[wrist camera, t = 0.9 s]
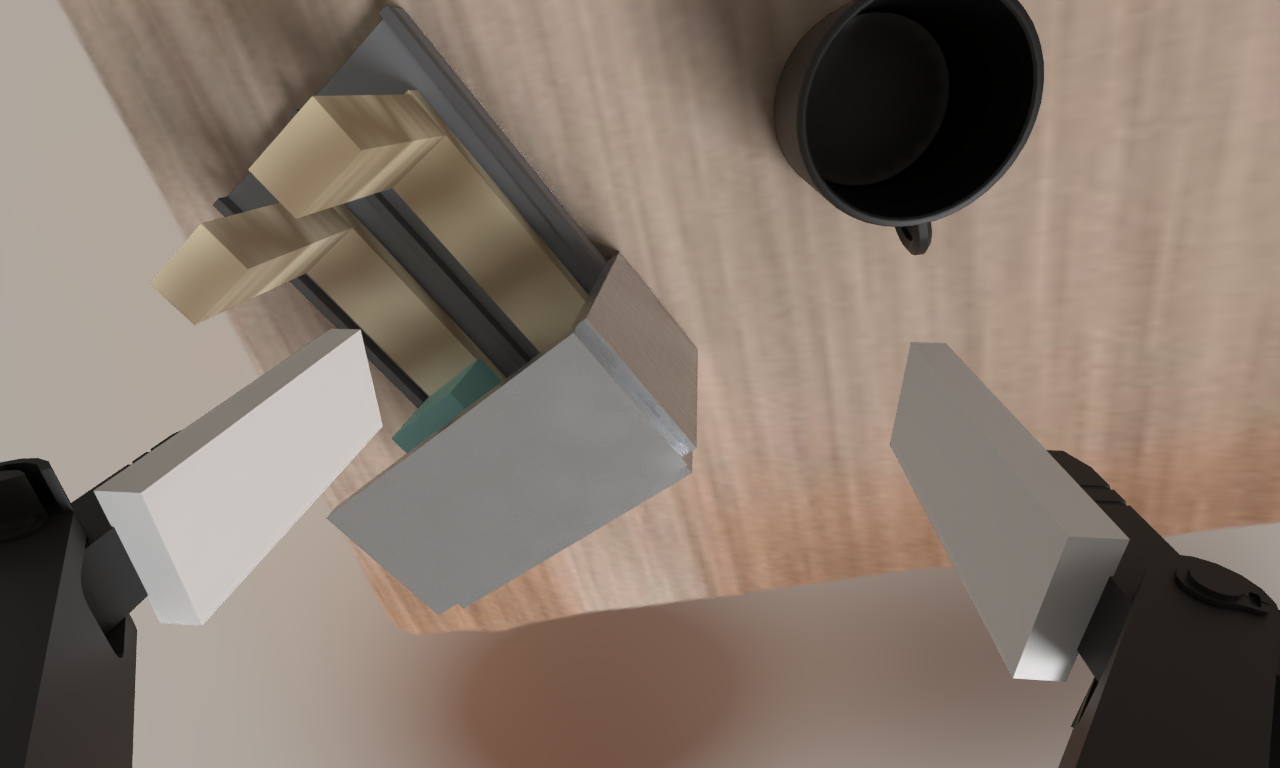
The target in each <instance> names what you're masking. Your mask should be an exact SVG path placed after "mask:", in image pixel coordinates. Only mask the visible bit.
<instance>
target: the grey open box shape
mask: <svg viewBox="0 0 1280 768" xmlns="http://www.w3.org/2000/svg"><path fill="white" fill-rule="evenodd" d="M697 367H698V350H697V348H696V347H695V346H694V345H693V343H692V342H691V341H690V340H689V338H688V337H687V336H686V335H685V333H684V332H683V331H682V329H681V328H680V327H679V326H678V324H677V323H676V322H675V321H674V319H673V318H672V317H671V316H670V314H669V313H668V312H667V311H666V309H665V308H664V307H663V306H662V304H661V303H660V302H659V301H658V299H657V298H656V297H655V295H654V294H653V293H652V292H651V290H650V289H649V288H648V287H647V285H646V284H645V283H644V282H643V280H642V279H641V278H640V277H639V275H638V274H637V273H636V272H635V270H634V269H633V268H632V267H631V265H630V264H629V263H628V262H627V260H626V259H625V258H624V256H623V255H622V254H621V253H620V252H619V253H617V254H616V255H615V256H614V257H612V258H611V259H610V260H608V261H607V263H606V264H605V266H604V268H603V270H602V272H601V274H600V275H599V277H598V279H597V281H596V283H595V285H594V286H593V288H592V290H591V292H590V294H589V296H588V297H587V299H586V301H585V303H584V305H583V307H582V308H581V310H580V312H579V314H578V316H577V317H576V319H575V321H574V323H573V325H572V327H571V328H570V330H569V332H567V333H566V334H565V335H563V336H562V337H561V338H559V339H558V340H557V341H555V342H554V343H553V344H551V345H550V346H549V347H547V348H546V349H545V350H543V351H542V352H541V353H539V354H538V355H537V356H535V357H534V358H533V359H531V360H530V361H529V362H527V363H526V364H525V365H523V366H522V367H521V368H519V369H518V370H517V371H515V372H514V373H513V374H511V375H510V376H509V377H508V378H506V379H505V380H504V381H502V382H501V383H500V384H498V385H497V386H496V387H494V388H493V389H492V390H490V391H489V392H488V393H486V394H485V395H484V396H482V397H481V398H480V399H478V400H477V401H476V402H474V403H473V404H472V405H470V406H469V407H468V408H466V409H465V410H464V411H462V412H461V413H460V414H458V415H457V416H456V417H454V418H453V419H452V420H450V421H449V422H448V423H447V424H445V425H444V426H443V427H441V428H440V429H439V430H437V431H436V432H435V433H433V434H432V435H431V436H429V437H428V438H427V439H425V440H424V441H423V442H421V443H420V444H419V445H417V446H416V447H415V448H413V449H412V450H411V451H409V452H408V453H407V454H405V455H404V456H403V457H401V458H400V459H399V460H397V461H396V462H395V463H393V464H392V465H391V466H389V467H388V468H387V469H386V470H384V471H383V472H382V473H380V474H379V475H378V476H376V477H375V478H374V479H372V480H371V481H370V482H368V483H367V484H366V485H364V486H363V487H362V488H360V489H359V490H358V491H356V492H355V493H354V494H352V495H351V496H350V497H348V498H347V499H346V500H344V501H343V502H342V503H340V504H339V505H338V506H337V507H336V508H335V509H334V510H333V511H332V512H331V513H330V515H329V516H328V517H327V519H328V520H329V521H330V522H331V523H332V524H334V525H335V526H336V527H337V528H338V529H339V530H341V531H342V532H343V533H344V534H345V535H346V536H347V537H349V538H350V539H351V540H352V541H353V542H354V543H356V544H357V545H358V546H359V547H360V548H361V549H362V550H364V551H365V552H366V553H367V554H368V555H369V556H371V557H372V558H373V559H374V560H375V561H376V562H378V563H379V564H380V565H381V566H382V567H383V568H384V569H386V570H387V571H388V572H389V573H390V574H391V575H393V576H394V577H395V578H396V579H397V580H398V581H399V582H401V583H402V584H403V585H404V586H405V587H406V588H408V589H409V590H410V591H411V592H412V593H413V594H415V595H416V596H417V597H418V598H419V599H420V600H421V601H423V602H424V603H425V604H426V605H427V606H428V607H430V608H431V609H432V610H433V611H434V612H435V613H436V614H438V615H439V614H441V613H442V612H444V611H446V610H447V609H449V608H451V607H452V606H454V605H456V604H457V603H458V604H459V605H460V606H461V607H462V608H463V609H464V608H466V607H467V606H469V605H471V604H472V603H474V602H476V601H478V600H479V599H481V598H483V597H484V596H486V595H488V594H489V593H491V592H493V591H494V590H496V589H498V588H499V587H501V586H503V585H504V584H506V583H508V582H509V581H511V580H513V579H514V578H516V577H518V576H520V575H521V574H523V573H525V572H526V571H528V570H530V569H531V568H533V567H535V566H536V565H538V564H540V563H541V562H543V561H545V560H546V559H548V558H550V557H551V556H553V555H555V554H557V553H558V552H560V551H562V550H563V549H565V548H567V547H568V546H570V545H572V544H573V543H575V542H577V541H578V540H580V539H582V538H583V537H585V536H587V535H588V534H590V533H592V532H593V531H595V530H597V529H599V528H600V527H602V526H604V525H605V524H607V523H609V522H610V521H612V520H614V519H615V518H617V517H619V516H620V515H622V514H624V513H625V512H627V511H629V510H630V509H632V508H634V507H636V506H637V505H639V504H641V503H642V502H644V501H646V500H647V499H649V498H651V497H652V496H654V495H656V494H657V493H659V492H661V491H662V490H664V489H666V488H667V487H669V486H671V485H672V484H674V483H676V482H678V481H679V480H681V479H683V478H684V477H686V476H688V475H689V474H691V473H692V450H694V449H696V446H697Z"/></svg>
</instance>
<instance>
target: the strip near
mask: <svg viewBox="0 0 1280 768" xmlns="http://www.w3.org/2000/svg"><path fill="white" fill-rule="evenodd" d="M248 170H249V171H250V172H251V173H252V174H253V175H254V176H255V177H256V178H257V179H258V180H259V181H260V182H261V183H262V184H263V185H264V186H265V187H266V189H267V190H268V191H269V192H270V193H271V194H272V195H273V196H274V197H275V198H276V199H277V200H278V201H279V202H280V203H281V204H282V205H283V206H284V207H285V208H286V209H287V210H288V211H289V212H290V213H291V214H292V215H293V216H294V217H295V218H300V217H303V216H306V215H309V214H312V213H315V212H318V211H322V210H325V209H328V208H331V207H334V206H337V205H340V204H344V203H347V202H350V201H353V200H356V199H359V198H363V197H366V196H369V195H372V194H375V193H378V192H381V191H385V190H388V189H391V188H393V189H394V190H395V191H396V192H397V194H398V195H399V196H400V197H401V198H402V199H403V200H404V201H405V202H406V204H407V205H408V206H409V207H410V208H411V209H412V210H413V211H414V213H415V214H416V215H417V216H418V217H419V218H420V219H421V220H422V221H423V223H424V224H425V225H426V226H427V227H428V228H429V229H430V230H431V231H432V233H433V234H434V235H435V236H436V237H437V238H438V239H439V240H440V242H441V243H442V244H443V245H444V246H445V247H446V248H447V249H448V250H449V252H450V253H451V254H452V255H453V256H454V257H455V258H456V259H457V260H458V262H459V263H460V264H461V265H462V266H463V267H464V268H465V269H466V271H467V272H468V273H469V274H470V275H471V276H472V277H473V278H474V279H475V281H476V282H477V283H478V284H479V285H480V286H481V287H482V288H483V289H484V291H485V292H486V293H487V294H488V295H489V296H490V297H491V298H492V300H493V301H494V302H495V303H496V304H497V305H498V306H499V307H500V308H501V310H502V311H503V312H504V313H505V314H506V315H507V316H508V317H509V318H510V320H511V321H512V322H513V323H514V324H515V325H516V326H517V327H518V329H519V330H520V331H521V332H522V333H523V334H524V335H525V336H526V337H527V339H528V340H529V341H530V342H531V343H532V344H533V345H534V346H535V347H536V349H537V350H538V351H539V352H540V353H541V352H542V351H543V350H545V349H546V348H547V347H549V346H550V345H551V344H553V343H554V342H555V341H557V340H558V339H559V338H561V337H562V336H563V335H565V334H566V333H567V332H569V330H570V328H571V327H572V325H573V323H574V321H575V319H576V317H577V316H578V314H579V312H580V310H581V308H582V307H583V305H584V303H585V301H586V299H587V297H588V296H589V295H588V294H587V292H586V291H585V290H584V289H583V288H582V286H581V285H580V284H579V283H578V282H577V281H576V279H575V278H574V277H573V276H572V275H571V273H570V272H569V271H568V270H567V269H566V267H565V266H564V265H563V264H562V263H561V261H560V260H559V259H558V258H557V257H556V255H555V254H554V253H553V252H552V251H551V249H550V248H549V247H548V246H547V245H546V243H545V242H544V241H543V240H542V239H541V237H540V236H539V235H538V234H537V233H536V231H535V230H534V229H533V228H532V227H531V225H530V224H529V223H528V222H527V221H526V219H525V218H524V217H523V216H522V215H521V213H520V212H519V211H518V210H517V209H516V207H515V206H514V205H513V204H512V203H511V201H510V200H509V199H508V198H507V197H506V195H505V194H504V193H503V192H502V191H501V189H500V188H499V187H498V186H497V185H496V183H495V182H494V181H493V180H492V179H491V177H490V176H489V175H488V174H487V173H486V171H485V170H484V169H483V168H482V167H481V165H480V164H479V163H478V162H477V161H476V160H475V158H474V157H473V156H472V155H471V154H470V152H469V151H468V150H467V149H466V148H465V146H464V145H463V144H462V143H461V142H460V140H459V139H458V138H457V137H456V136H455V134H454V133H453V132H452V131H451V130H450V128H449V127H448V126H447V125H446V124H445V122H444V121H443V120H442V119H441V118H440V116H439V115H438V114H437V113H436V112H435V110H434V109H433V108H432V107H431V106H430V104H429V103H428V102H427V101H426V100H425V98H424V97H423V96H422V95H421V94H420V92H419V91H418V90H408V91H407V92H406V93H405V94H404V95H342V96H312V97H311V98H310V99H309V100H308V102H307V103H306V104H305V105H304V106H303V107H302V108H301V110H300V111H299V112H298V113H297V114H296V115H295V116H294V118H293V119H292V120H291V121H290V122H289V123H288V124H287V126H286V127H285V128H284V129H283V130H282V131H281V132H280V134H279V135H278V136H277V137H276V138H275V139H274V140H273V142H272V143H271V144H270V145H269V146H268V147H267V148H266V150H265V151H264V152H263V153H262V154H261V155H260V157H259V158H258V159H257V160H256V161H255V162H254V163H253V165H252V166H251V167H250V168H249V169H248Z"/></svg>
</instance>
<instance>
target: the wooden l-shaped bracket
mask: <svg viewBox="0 0 1280 768" xmlns="http://www.w3.org/2000/svg"><path fill="white" fill-rule="evenodd" d="M305 273H307V274H308V275H309V276H310V277H311V278H312V279H313V280H314V281H315V282H316V283H317V284H318V285H319V286H320V287H321V288H322V289H323V290H324V291H325V292H326V293H327V294H328V295H329V296H330V297H331V298H332V299H333V300H334V301H335V302H336V303H337V304H338V305H339V306H340V307H341V308H342V309H343V310H344V311H345V312H346V313H347V314H348V315H349V316H350V317H351V318H352V319H353V320H354V321H355V322H356V323H357V324H358V325H359V326H360V327H361V328H362V329H363V330H364V331H365V332H366V333H367V334H368V335H369V336H370V337H371V338H372V339H373V340H374V341H375V342H376V343H377V344H378V345H379V346H380V347H381V348H382V349H383V350H384V351H385V352H386V353H387V354H388V355H389V356H390V357H391V358H392V359H393V360H394V361H395V362H396V363H397V364H398V365H399V366H400V367H401V368H402V369H403V370H404V371H405V372H406V373H407V374H408V375H409V376H410V377H411V378H412V379H413V380H414V381H415V382H416V383H417V384H418V385H419V386H420V387H421V388H422V389H423V391H424V392H425V393H426V394H427V395H428V396H429V397H430V396H431V395H432V394H434V393H435V392H436V391H437V390H439V389H440V388H441V387H443V386H444V385H445V384H446V383H448V382H449V381H450V380H451V379H453V378H454V377H455V376H457V375H458V374H459V373H460V372H462V371H463V370H464V369H465V368H467V367H468V366H469V365H471V364H472V363H473V362H474V361H476V360H477V359H478V358H479V357H480V358H481V359H482V360H483V361H484V362H485V363H486V364H487V365H488V366H489V368H490V369H491V370H492V371H493V372H494V373H495V374H496V375H497V376H498V377H499V378H500V379H501V380H502V381H504V380H505V379H506V377H505V376H504V375H503V374H502V373H501V372H500V370H499V369H498V368H497V367H496V366H495V365H494V364H493V363H492V362H491V361H490V360H489V359H488V358H487V357H486V355H485V354H484V353H483V352H482V351H481V350H480V349H479V348H478V347H477V346H476V345H475V344H474V343H473V342H472V340H471V339H470V338H469V337H468V336H467V335H466V334H465V333H464V332H463V331H462V330H461V329H460V328H459V327H458V325H457V324H456V323H455V322H454V321H453V320H452V319H451V318H450V317H449V316H448V315H447V314H446V313H445V312H444V310H443V309H442V308H441V307H440V306H439V305H438V304H437V303H436V302H435V301H434V300H433V299H432V298H431V297H430V295H429V294H428V293H427V292H426V291H425V290H424V289H423V288H422V287H421V286H420V285H419V284H418V283H417V282H416V280H415V279H414V278H413V277H412V276H411V275H410V274H409V273H408V272H407V271H406V270H405V269H404V268H403V267H402V265H401V264H400V263H399V262H398V261H397V260H396V259H395V258H394V257H393V256H392V255H391V254H390V253H389V252H388V250H387V249H386V248H385V247H384V246H383V245H382V244H381V243H380V242H379V241H378V240H377V239H376V238H375V237H374V235H373V234H372V233H371V232H370V231H369V230H368V229H367V228H366V227H365V226H364V225H363V224H362V223H361V222H360V220H359V219H358V218H357V217H356V216H355V215H354V214H353V213H352V212H351V211H350V210H349V209H348V208H347V206H346V205H345V204H340V205H337V206H334V207H331V208H328V209H325V210H322V211H318V212H315V213H312V214H309V215H306V216H303V217H300V218H295V217H294V216H293V215H292V214H291V213H290V212H289V211H288V210H287V209H286V208H285V207H284V206H283V205H282V204H281V203H276V204H273V205H269V206H265V207H261V208H258V209H254V210H250V211H246V212H243V213H239V214H235V215H231V216H228V217H224V218H220V219H216V220H213V221H209V222H205V223H201V224H200V225H199V226H198V228H197V229H196V230H195V231H194V232H193V233H192V234H191V236H190V237H189V238H188V239H187V240H186V241H185V242H184V244H183V245H182V246H181V247H180V248H179V250H178V251H177V252H176V253H175V254H174V255H173V256H172V258H171V259H170V260H169V261H168V262H167V263H166V264H165V265H164V267H163V268H162V269H161V270H160V271H159V272H158V273H157V275H156V276H155V277H154V278H153V279H152V280H151V281H150V283H149V284H150V285H151V286H152V287H154V289H156V290H157V291H158V292H159V293H160V294H161V295H162V296H163V297H164V298H166V299H167V300H168V301H169V302H170V303H171V304H172V305H173V306H174V307H175V308H176V309H178V310H179V311H180V312H181V313H182V314H183V315H184V316H185V317H186V318H187V319H188V320H190V321H191V322H192V323H193V324H194V325H196V324H198V323H200V322H202V321H204V320H206V319H208V318H211V317H213V316H215V315H217V314H219V313H221V312H224V311H226V310H228V309H230V308H232V307H234V306H237V305H239V304H241V303H243V302H245V301H247V300H249V299H252V298H254V297H256V296H258V295H260V294H262V293H265V292H267V291H269V290H271V289H273V288H275V287H277V286H280V285H282V284H284V283H286V282H288V281H290V280H293V279H295V278H297V277H299V276H301V275H303V274H305Z"/></svg>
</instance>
